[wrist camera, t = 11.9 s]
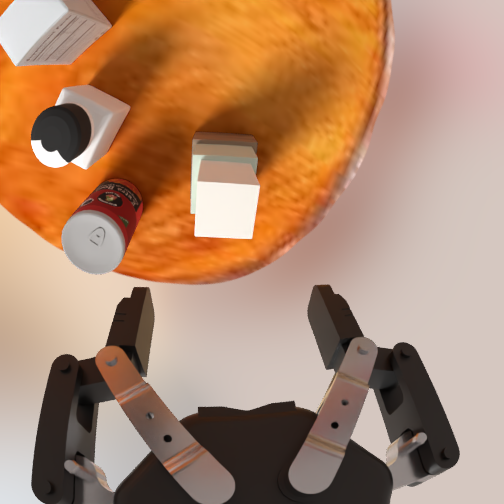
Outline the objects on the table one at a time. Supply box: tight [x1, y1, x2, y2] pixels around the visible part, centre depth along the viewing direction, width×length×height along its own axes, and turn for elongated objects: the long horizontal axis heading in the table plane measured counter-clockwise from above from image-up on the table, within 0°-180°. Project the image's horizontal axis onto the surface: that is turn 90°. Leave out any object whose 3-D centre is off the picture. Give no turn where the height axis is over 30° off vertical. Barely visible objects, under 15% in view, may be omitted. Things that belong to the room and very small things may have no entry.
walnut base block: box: [190, 132, 258, 199], centre depth 33 cm, size 7×7×5 cm
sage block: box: [191, 144, 258, 214], centre depth 29 cm, size 6×6×5 cm
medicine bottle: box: [31, 85, 130, 169], centre depth 25 cm, size 7×7×12 cm
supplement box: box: [0, 0, 112, 66], centre depth 17 cm, size 7×7×13 cm
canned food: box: [62, 179, 143, 274], centre depth 32 cm, size 8×8×11 cm
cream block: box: [195, 160, 260, 239], centre depth 24 cm, size 5×5×6 cm
